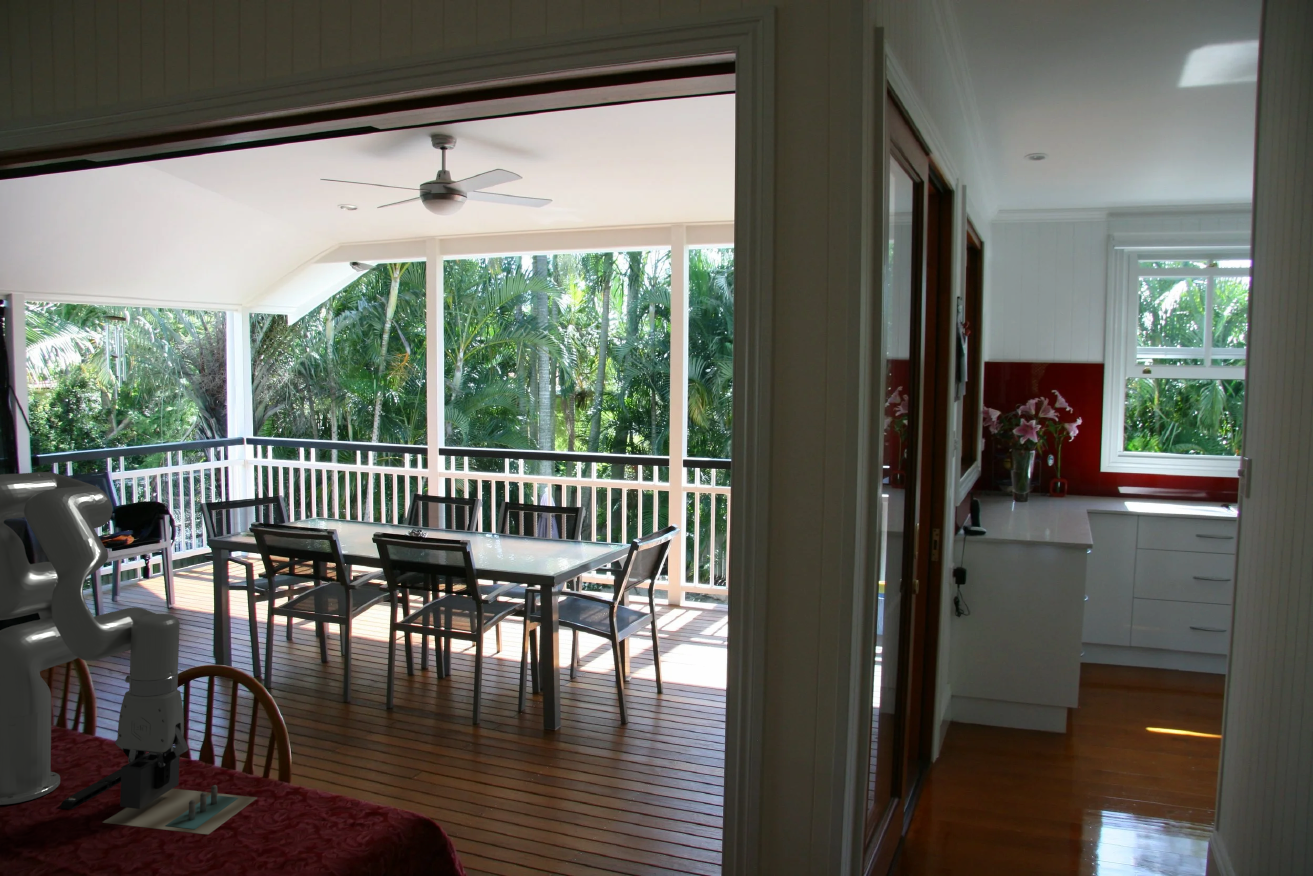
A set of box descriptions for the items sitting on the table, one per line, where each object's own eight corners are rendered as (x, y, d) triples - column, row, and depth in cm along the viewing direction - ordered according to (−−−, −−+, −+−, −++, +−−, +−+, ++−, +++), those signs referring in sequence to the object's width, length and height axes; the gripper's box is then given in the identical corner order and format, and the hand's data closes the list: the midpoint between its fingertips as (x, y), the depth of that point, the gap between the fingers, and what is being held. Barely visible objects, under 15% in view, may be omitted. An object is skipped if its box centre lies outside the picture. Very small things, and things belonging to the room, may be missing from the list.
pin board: (102, 830, 148) (102, 802, 148) (159, 795, 162) (160, 769, 162) (208, 843, 145) (208, 814, 145) (257, 805, 159) (257, 779, 159)
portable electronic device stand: (133, 776, 170) (134, 761, 170) (145, 777, 170) (145, 762, 170) (58, 818, 152) (59, 801, 152) (71, 819, 152) (72, 803, 152)
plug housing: (139, 809, 149) (140, 769, 149) (120, 806, 150) (121, 767, 149) (178, 784, 159) (179, 747, 159) (159, 782, 159) (161, 745, 159)
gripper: (95, 686, 151) (92, 788, 152) (181, 696, 149) (178, 799, 149) (127, 673, 158) (124, 770, 159) (209, 682, 156) (206, 780, 157)
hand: (150, 783), depth 154 cm, fingers closed on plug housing, 3 cm apart
